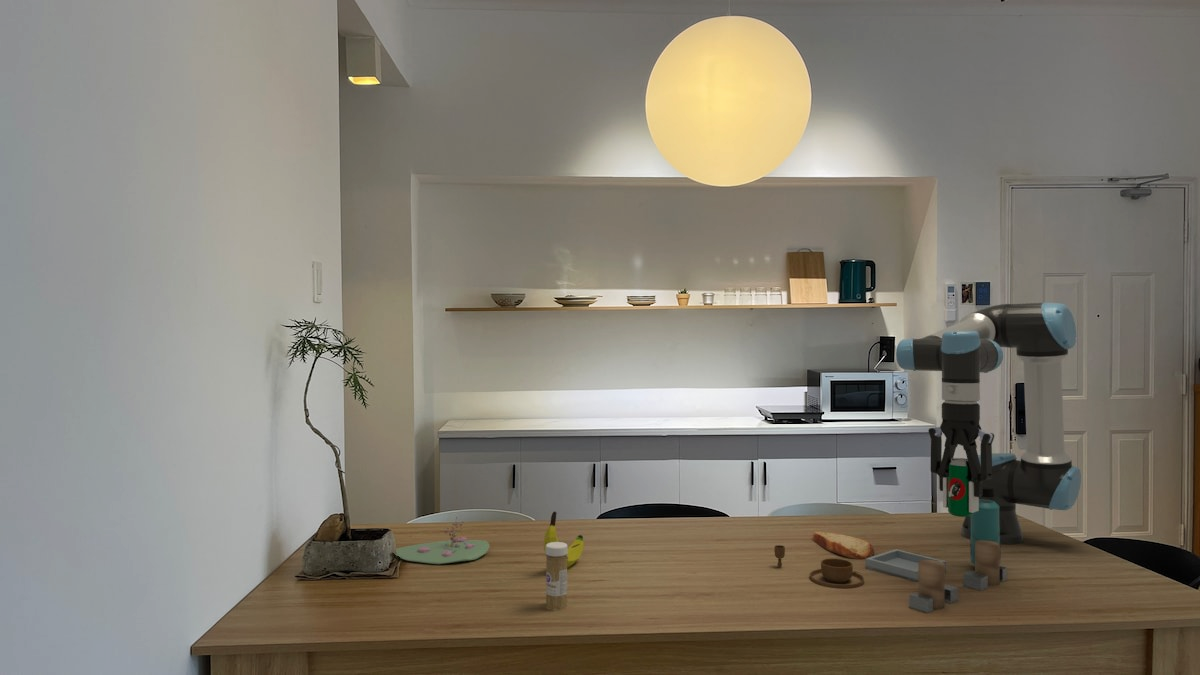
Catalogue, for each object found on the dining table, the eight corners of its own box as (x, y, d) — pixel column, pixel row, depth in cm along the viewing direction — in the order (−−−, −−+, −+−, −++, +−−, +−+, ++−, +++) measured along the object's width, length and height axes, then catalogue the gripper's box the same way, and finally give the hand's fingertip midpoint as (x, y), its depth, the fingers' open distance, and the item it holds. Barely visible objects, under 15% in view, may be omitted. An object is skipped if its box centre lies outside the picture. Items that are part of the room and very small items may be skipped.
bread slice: (814, 537, 216) (814, 523, 216) (882, 546, 207) (882, 532, 207) (797, 553, 200) (797, 538, 200) (869, 563, 191) (869, 548, 191)
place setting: (818, 596, 168) (818, 569, 168) (769, 570, 187) (769, 545, 187) (884, 587, 174) (884, 561, 174) (830, 562, 193) (830, 539, 193)
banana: (589, 560, 194) (589, 500, 194) (557, 580, 178) (556, 515, 178) (573, 558, 196) (573, 498, 195) (539, 578, 180) (539, 513, 180)
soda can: (976, 518, 165) (976, 461, 165) (951, 517, 166) (951, 461, 166) (970, 512, 170) (969, 457, 170) (945, 511, 171) (945, 457, 171)
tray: (895, 559, 194) (895, 549, 194) (945, 571, 183) (945, 561, 183) (865, 568, 186) (865, 558, 186) (916, 582, 175) (916, 571, 175)
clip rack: (989, 576, 180) (989, 563, 180) (1006, 580, 177) (1006, 567, 177) (909, 609, 159) (909, 594, 159) (927, 614, 156) (927, 599, 156)
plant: (390, 568, 189) (390, 531, 189) (392, 545, 209) (392, 512, 209) (492, 560, 195) (492, 525, 195) (485, 539, 215) (485, 507, 215)
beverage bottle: (1004, 575, 181) (1004, 489, 180) (973, 573, 182) (973, 488, 182) (995, 566, 187) (996, 484, 187) (966, 565, 188) (966, 483, 188)
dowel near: (926, 600, 164) (926, 558, 164) (949, 607, 160) (949, 563, 160) (913, 605, 161) (913, 562, 161) (936, 612, 157) (936, 568, 157)
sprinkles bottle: (541, 609, 160) (540, 544, 159) (556, 603, 163) (556, 539, 163) (557, 614, 157) (557, 548, 156) (572, 608, 160) (572, 543, 160)
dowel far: (981, 577, 179) (981, 539, 179) (1003, 583, 175) (1003, 543, 175) (970, 582, 176) (970, 542, 176) (993, 588, 172) (993, 547, 172)
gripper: (912, 400, 172) (912, 504, 173) (994, 406, 158) (994, 519, 158) (930, 398, 177) (930, 499, 177) (1011, 403, 163) (1011, 514, 163)
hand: (960, 508), depth 168 cm, fingers closed on soda can, 5 cm apart
